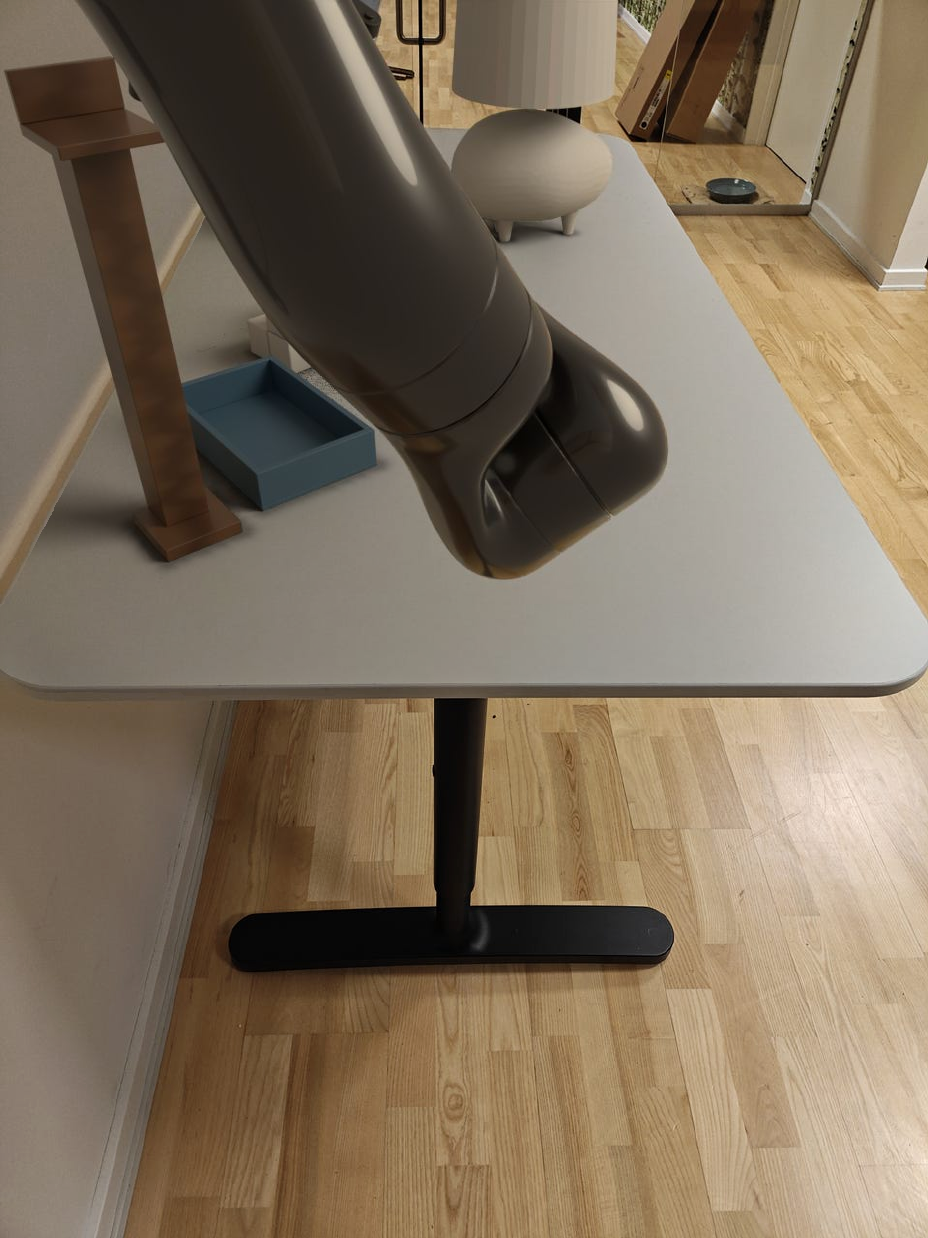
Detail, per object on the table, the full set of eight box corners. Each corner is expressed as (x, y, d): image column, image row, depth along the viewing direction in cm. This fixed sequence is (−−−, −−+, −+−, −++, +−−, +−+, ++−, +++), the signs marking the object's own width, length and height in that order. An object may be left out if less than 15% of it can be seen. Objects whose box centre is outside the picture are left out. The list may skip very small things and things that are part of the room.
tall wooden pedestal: (168, 562, 77) (42, 91, 53) (134, 523, 81) (3, 69, 57) (243, 531, 80) (155, 74, 56) (207, 495, 84) (110, 55, 60)
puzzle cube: (312, 311, 114) (305, 246, 109) (375, 342, 108) (370, 275, 102) (231, 340, 108) (219, 273, 102) (292, 375, 101) (283, 306, 96)
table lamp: (589, 208, 143) (619, -120, 117) (623, 259, 127) (667, -106, 101) (443, 213, 141) (440, -120, 114) (459, 266, 125) (460, -106, 98)
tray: (377, 465, 88) (374, 429, 85) (262, 511, 82) (256, 474, 80) (276, 388, 99) (271, 354, 97) (169, 423, 93) (161, 389, 91)
